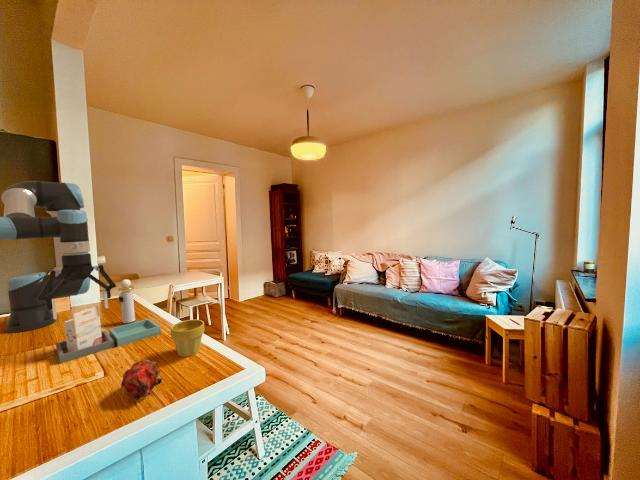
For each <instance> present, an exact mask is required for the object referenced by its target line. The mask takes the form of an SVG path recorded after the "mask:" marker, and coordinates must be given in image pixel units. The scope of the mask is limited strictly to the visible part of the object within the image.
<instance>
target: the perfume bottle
mask: <svg viewBox="0 0 640 480" xmlns="http://www.w3.org/2000/svg"><path fill="white" fill-rule="evenodd" d="M120 286H121V287H118V288H117V289H118V291H119V292H120V293H119V295H118V300H119V303H120V305H121V306H120V307H121V315H122V316H121V317H122V323H123V324H130V323H134V321H135V322H136V314H135V312H136V311H135V301H134V299H135V298H134V291H133V290H134V289H135V286H133V285H132V282H131V280H130V279H126V278H125V279H122V280H121V282H120ZM121 291H122V292H121Z"/></svg>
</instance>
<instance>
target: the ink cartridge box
mask: <svg viewBox="0 0 640 480" xmlns="http://www.w3.org/2000/svg"><path fill="white" fill-rule="evenodd" d="M72 315H73V318H72V319H69V320H66V321H65V320H64V321H63V324H64V325H63V326H64V333H65V341H66V342H67V348H66V349H67V353H68V352H72V351H75V350H79V349H82V348H86V347H89V346H93V345H96V344H100V343H103V338H102V334H101V331H102V325H101V318H100V317H101V316H100V312H99V307H98V306H94V307H89V308H87V309H83V310H81V311H78V312H74V313H73V314H72Z"/></svg>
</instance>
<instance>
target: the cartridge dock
mask: <svg viewBox="0 0 640 480" xmlns="http://www.w3.org/2000/svg"><path fill="white" fill-rule="evenodd" d="M101 334H102V339H103V340H104V342H103V341H102V343H100V344H96V345H93V346H89V347H86V348H82V349H79V350H75V351H72V352H68V351H67V352H66V353H64V351H63V350H65V348H66V349H67V342H66V340H65V341H64V340H63V341H60V342H59V341H58V342H56V343H55V349H56V354H57V353H58V354H57V356H58V360H59V363H60V364H63V363H62V362H64V363H66V361H67V362H70V361H73V359H74V360H75V359H76V360H77V359H80V358H83V357H86V355H87V356H90V355H92V354H93V355H94V354H95V353H99V352H102V351H106V350H109V349H112V348H115V342H114V340H113V339H112V338H111V337H110V335H109V333H108V331H106V330H101ZM89 354H90V355H89Z"/></svg>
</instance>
